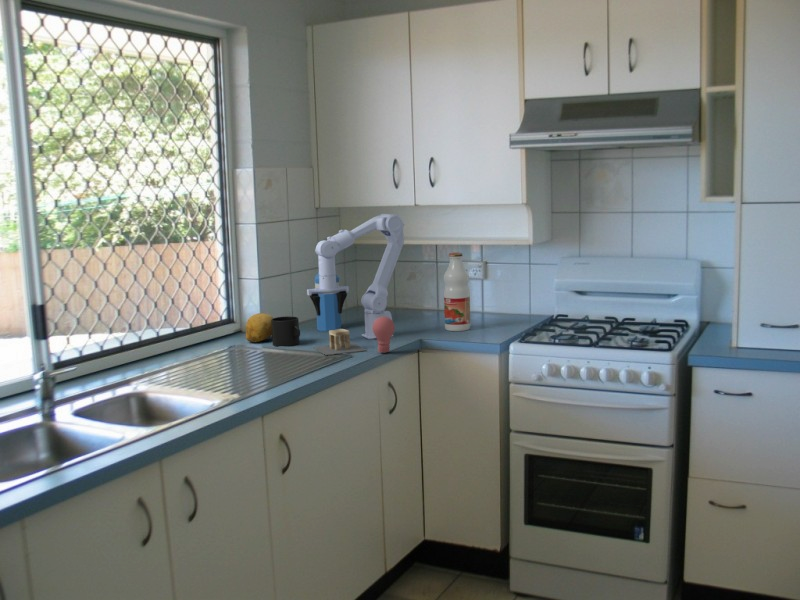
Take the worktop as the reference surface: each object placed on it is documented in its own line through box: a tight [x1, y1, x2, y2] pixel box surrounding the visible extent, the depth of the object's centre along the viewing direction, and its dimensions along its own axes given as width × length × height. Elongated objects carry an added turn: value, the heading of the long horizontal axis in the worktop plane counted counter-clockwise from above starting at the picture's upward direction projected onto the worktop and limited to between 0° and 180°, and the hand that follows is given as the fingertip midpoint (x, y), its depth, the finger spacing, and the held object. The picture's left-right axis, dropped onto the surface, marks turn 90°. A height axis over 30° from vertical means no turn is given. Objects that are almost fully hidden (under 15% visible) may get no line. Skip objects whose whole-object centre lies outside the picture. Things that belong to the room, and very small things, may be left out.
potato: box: [245, 312, 274, 343], centre depth 304 cm, size 10×12×10 cm
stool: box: [328, 328, 351, 351], centre depth 284 cm, size 5×5×6 cm
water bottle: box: [314, 271, 342, 332], centre depth 321 cm, size 9×9×25 cm
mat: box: [313, 342, 368, 356], centre depth 284 cm, size 14×14×1 cm
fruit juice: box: [443, 252, 471, 332], centre depth 311 cm, size 9×9×28 cm
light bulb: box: [373, 317, 396, 354], centre depth 275 cm, size 7×7×12 cm
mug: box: [271, 315, 301, 347], centre depth 295 cm, size 9×12×9 cm
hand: (329, 314), depth 296 cm, fingers open, 7 cm apart
